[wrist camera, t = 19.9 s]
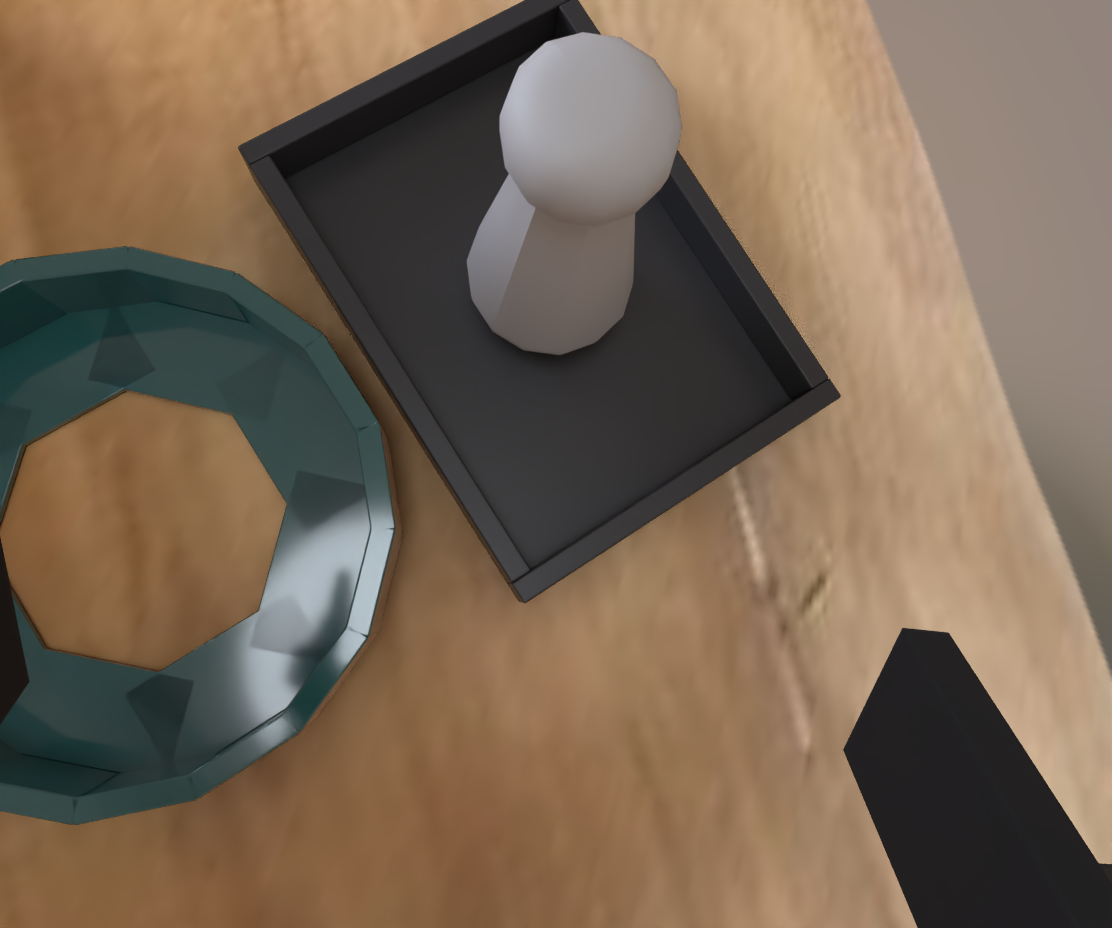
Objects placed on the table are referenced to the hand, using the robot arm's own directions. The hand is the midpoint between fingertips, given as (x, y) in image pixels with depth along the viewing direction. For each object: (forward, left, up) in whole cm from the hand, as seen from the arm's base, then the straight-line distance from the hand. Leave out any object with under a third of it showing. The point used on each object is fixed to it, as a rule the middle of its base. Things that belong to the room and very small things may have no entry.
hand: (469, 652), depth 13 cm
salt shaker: (-8, +9, -18) cm, 21 cm away
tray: (-8, +9, -18) cm, 22 cm away
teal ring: (-8, -8, -18) cm, 21 cm away
